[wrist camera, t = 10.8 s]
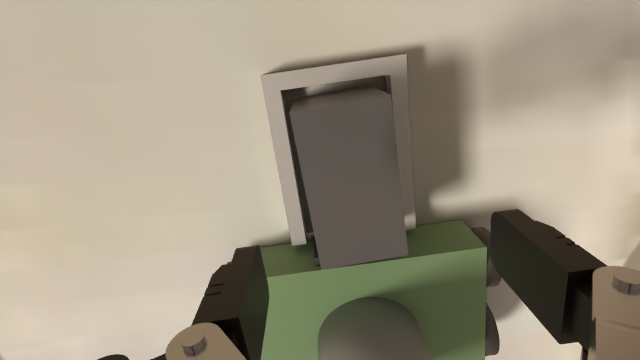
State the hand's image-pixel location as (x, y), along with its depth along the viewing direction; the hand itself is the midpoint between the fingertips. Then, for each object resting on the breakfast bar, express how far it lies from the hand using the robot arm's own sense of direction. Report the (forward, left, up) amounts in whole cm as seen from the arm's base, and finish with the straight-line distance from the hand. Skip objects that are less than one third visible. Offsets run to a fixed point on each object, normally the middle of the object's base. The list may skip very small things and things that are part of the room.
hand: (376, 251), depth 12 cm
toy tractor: (+6, 0, -13) cm, 14 cm away
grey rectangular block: (0, 0, -13) cm, 13 cm away
